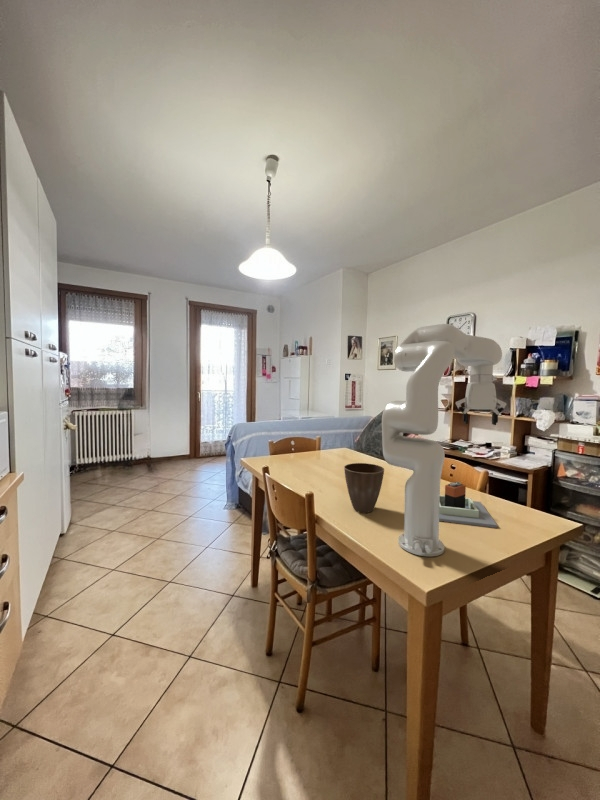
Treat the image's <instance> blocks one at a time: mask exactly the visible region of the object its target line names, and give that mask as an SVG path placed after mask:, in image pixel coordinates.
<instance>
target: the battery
mask: <svg viewBox="0 0 600 800" xmlns="http://www.w3.org/2000/svg"><path fill="white" fill-rule="evenodd" d="M466 491H467V489H466V485H465V484H463V483H461V482H460V481H456V482H449V484H445V485H444V496H445V506H446V507H455V508H465V498H466Z"/></svg>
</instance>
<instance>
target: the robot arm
mask: <svg viewBox="0 0 600 800" xmlns="http://www.w3.org/2000/svg"><path fill="white" fill-rule="evenodd" d="M396 347H397V348H396V349H395V351H394V354H393V363H394V365H395V367H396V369H398V370H399V371H402V372H412V373H411V375H410V376H409V378H408V380H407V382H406V386H405V387H406V389H405V390H406V391H405V400H393V401H389V402H388V403H387V404H386V405H385V406H384V408H383V411H382V414H381V415H382V416H381V439H382V443H381V444H382V455H383V459H384V461H385V462H386V463H387V464H388V465H390V466H393V467H398V468H401V469H406V470H410V471H412V474H411V475H410V476H409V478H408V479H406V482H405V484H404V512H403V513H404V514H403V515H404V516H403V518H404V519H403V520H404V522H403V524H404V525H403V533H402V534H400V536H399V537H398V544H399V546H400V547H401V548H402V549H403V550H405V551H406V552H408V553H410V554H413V555H416V556H420V557H439V556H440V555H442V554H444V552H445V544H444V542H443V541H441V539H439V536H440V521H439V505H440V495H441V478H442V471H443V466H444V463H445V458H446V457H445V454H446V453H445V449H444V447H443V446H442V445H441V444H440V443H438V442H437V441H436V440H433V439H432V440H431V439H428V438H421V437H415V436H413V437H411V436H404V434H412V435H421V436H422V435H423V436H428V435H432V434H434V433H436V431H437V429H438V426H439V385H440V381H441V379H442V377H443V376H444V374H445V372H446V371H447V370H448V368H449V367H450V365H451V364H452V362H453V360H454V359H456V361H457V363H458V364H459V365H461V366H463V367H470V369H469V370H470V371H469V372H470V375H469V383H467V384H466V390H465V397H464V398H462V399H459V400H458V401H455V405H456V407H457V410H458V411H460V412H461V413H462V422H463V423H464V424H465V425H467V424H468V423H469V413H468V412H469V411H470V410H491V412H492V414H491V425H493V426H496V425H497V423H499V422H498V421H499V415H500V414H501V412H503V411H504V409H505V408H506V406H507V405H508V404H507V402H505V401H503V400H500V399H499V398H497V391H496V385H495V383H493V382H494V381H497V380H498V377H497V376H495V375H494V366H495V365H497V364H499V363H500V361H502V357H503V350H502V348H501V345H500V344H499V343H498V342H496V340H494V339H492V338H487V337H482V336H477V335H472V334H471V335H470V334H466V333H464V332H463V331H462V330H460V329H459V328H458V327H456V326H454V325H452V324H449V323H440V324H431V325H426V326H420V327H417V328H416V329H414V330H413V331H411V332H410V333H409V334H408V335H407V336H406V338H404V339H403V340H402V341H401V343H400V344H399V345H398V346H396ZM462 404H464V408H463V407H462ZM497 404H499V405H500V406H499V407H498V408H496V407H497Z"/></svg>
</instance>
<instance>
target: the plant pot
mask: <svg viewBox="0 0 600 800" xmlns="http://www.w3.org/2000/svg"><path fill="white" fill-rule="evenodd" d="M343 469H344V477H345V482H346V487H347V491H348V492H347V493H348V495H349V499H350V502H351V505H352V506H351V507H352V508H353V510H355V511H356V512H358V513H365V514H366V513H367V514H369V513H372V512H373V511H374V510H375V507H376V504H377V501H378V499H379V496H380V493H381V489H382V484H383V479H384V474H385V473H384V472H385V468H384V466H381V465H377V464H374V463H366V462H365V463H364V462H354V463H348V464H345V465H344V467H343Z"/></svg>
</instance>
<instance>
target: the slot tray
mask: <svg viewBox="0 0 600 800" xmlns="http://www.w3.org/2000/svg"><path fill="white" fill-rule="evenodd" d="M442 521H444V522H443V523H450V522H451V523H452V524H458V523H459V525H461V524H462V525H467V526H476V527H477V526H478V527H485V528H492V529H498V524H497V522H496V521H495V520H494V518H493V517H492V516H491V514H490V513H489V511H488V510H487V509H486V508H485V506H484V505H483V503H482V502H481V501H475V500H472V498H470V497H465V508H455V507H446V506H445V495H442V494H440V505H439V522H442Z"/></svg>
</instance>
